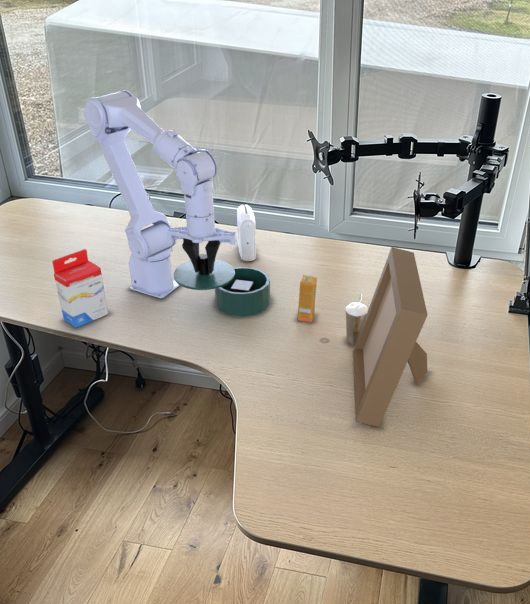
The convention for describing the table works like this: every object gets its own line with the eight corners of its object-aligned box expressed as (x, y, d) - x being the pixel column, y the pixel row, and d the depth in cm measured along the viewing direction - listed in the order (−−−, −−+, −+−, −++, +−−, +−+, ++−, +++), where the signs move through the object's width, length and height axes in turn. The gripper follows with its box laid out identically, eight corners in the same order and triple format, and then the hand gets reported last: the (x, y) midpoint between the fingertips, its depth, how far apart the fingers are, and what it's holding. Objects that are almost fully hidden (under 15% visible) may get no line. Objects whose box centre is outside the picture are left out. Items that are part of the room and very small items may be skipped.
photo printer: (257, 261, 169) (256, 216, 161) (240, 262, 168) (239, 217, 161) (253, 243, 177) (252, 200, 170) (237, 244, 176) (235, 200, 169)
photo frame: (355, 425, 118) (365, 307, 104) (352, 355, 136) (361, 245, 121) (437, 429, 118) (459, 310, 103) (424, 358, 136) (441, 248, 121)
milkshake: (368, 336, 142) (371, 296, 136) (361, 349, 138) (365, 308, 132) (348, 331, 143) (350, 292, 137) (341, 345, 139) (343, 304, 133)
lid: (166, 289, 138) (163, 268, 135) (183, 261, 149) (181, 240, 146) (227, 295, 137) (226, 273, 134) (240, 265, 148) (239, 245, 145)
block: (231, 304, 150) (230, 288, 148) (236, 295, 154) (236, 279, 151) (249, 306, 150) (248, 290, 147) (254, 297, 153) (253, 281, 151)
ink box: (75, 329, 141) (62, 268, 133) (63, 320, 144) (49, 260, 135) (109, 314, 147) (99, 255, 138) (97, 305, 149) (86, 247, 141)
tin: (210, 314, 147) (208, 291, 144) (222, 287, 157) (221, 265, 154) (264, 318, 146) (264, 296, 143) (273, 291, 156) (273, 269, 153)
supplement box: (312, 323, 145) (314, 283, 140) (297, 321, 146) (298, 281, 140) (315, 315, 148) (317, 276, 142) (300, 313, 149) (301, 274, 143)
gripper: (159, 217, 132) (166, 276, 140) (230, 222, 131) (233, 282, 138) (169, 203, 138) (175, 261, 145) (237, 208, 136) (240, 266, 144)
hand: (204, 270), depth 142 cm, fingers closed on lid, 2 cm apart
